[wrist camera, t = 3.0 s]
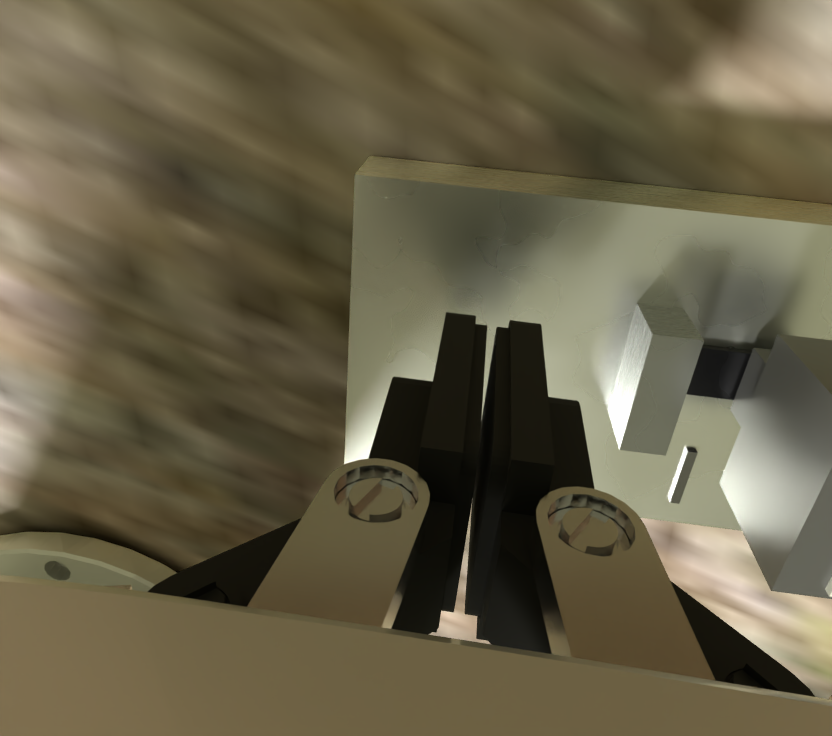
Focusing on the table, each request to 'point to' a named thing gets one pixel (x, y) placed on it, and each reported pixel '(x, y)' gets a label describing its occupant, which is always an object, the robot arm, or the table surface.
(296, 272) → the table surface
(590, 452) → the console
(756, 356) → the fader tab
